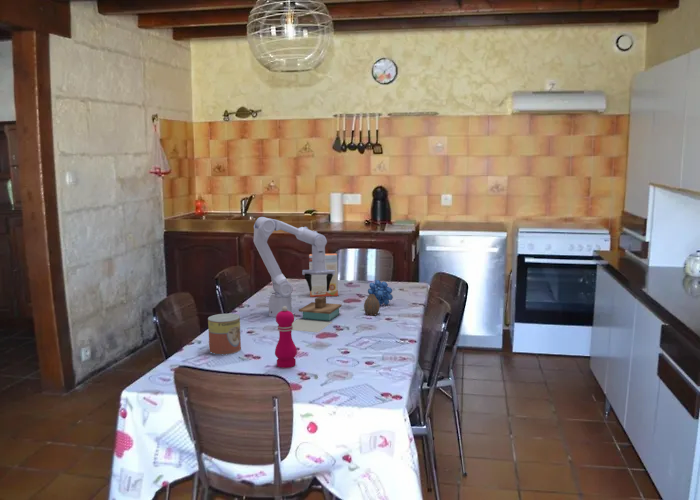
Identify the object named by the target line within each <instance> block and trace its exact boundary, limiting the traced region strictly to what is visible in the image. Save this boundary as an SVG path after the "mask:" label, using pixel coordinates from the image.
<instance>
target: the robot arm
mask: <svg viewBox="0 0 700 500" xmlns="http://www.w3.org/2000/svg"><path fill="white" fill-rule="evenodd" d="M274 231H275V232H278V231H284V232H285V233H289V234H291V235H294V236H295V237H296V240H299V241H301V242H305V243H306V244H309V245H311V254H312V270H309V269H302V270H301V271H302V273H301V274H302V275H303V276H304V279H305V280H306V283H307V286H308V289H309V292H310V291H311V290H312V284H311V278H312V275H327V276H326V279H327V291H329V285H330V282H331V279H332V277H333V275H335V270H325V254H326V245H327V243H328V240H327V238H326V236H325V235H324V234H321V233H318V231H316V230H311V229H309V227H308V226H304V227H303V226H301V227H300V226H299V227H295V226H293V225H291V224H289V223H286V222H284V221H281V220H278V219H273V218H270V217H269V218H268V217H265V216H260V217H258V218H257V219H256V220H255V222H254V225H253V240H252V241H253V243H254V246H255V247H256V249H257V251H258V253H259V256H260V257H261V259H262V261H263V264H264V265H265V267H266V269H267V272H268V273H269V276H270V278H271V282H272V289H273V291H274V294H272V295H270V297H269V299H268V317H275V318H276V315H277V314H278V313H279V312H280V311H283V310H282V307H284V306H286V307H287V311H290V312H292V311H293V309H292V308H293V307H292V293H293V291H294V287H293V284H292V283H291V282H289V281H288V280H287V278H286V277H285V275H284V274H283V273H282V269H280V265H279V263H278V262H277V260H276V258H275V256H274V254H273V251H272V250H271V248H270V246H269V243H268V240H269V239H270V238H269V237H270V236H272V234H273V233H274ZM292 313H293V315H295V314H296V312H292Z"/></svg>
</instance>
